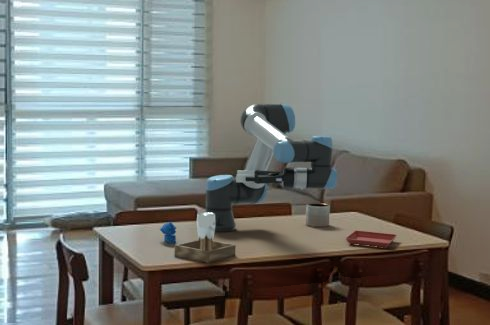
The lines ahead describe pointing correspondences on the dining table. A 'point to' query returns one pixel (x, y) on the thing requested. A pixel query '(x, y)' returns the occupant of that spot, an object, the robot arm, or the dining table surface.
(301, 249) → the dining table surface
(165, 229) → the blue figurine
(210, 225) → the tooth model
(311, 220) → the planter
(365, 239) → the plant saucer
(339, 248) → the dining table surface
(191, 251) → the crate
